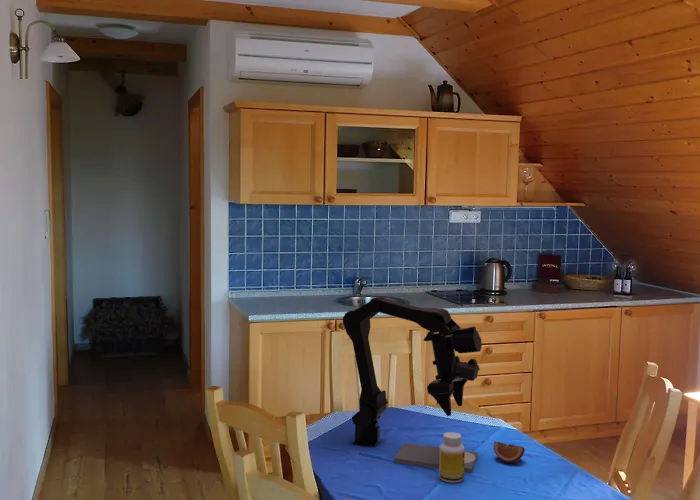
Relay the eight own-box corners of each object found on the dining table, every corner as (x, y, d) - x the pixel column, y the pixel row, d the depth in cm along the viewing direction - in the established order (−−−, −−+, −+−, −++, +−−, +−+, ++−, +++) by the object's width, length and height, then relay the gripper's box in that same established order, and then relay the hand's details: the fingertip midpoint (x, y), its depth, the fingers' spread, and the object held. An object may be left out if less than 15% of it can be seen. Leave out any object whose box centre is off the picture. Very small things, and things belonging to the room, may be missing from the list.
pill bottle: (463, 484, 183) (464, 440, 182) (437, 482, 185) (438, 438, 183) (464, 474, 190) (465, 431, 188) (439, 472, 191) (440, 429, 190)
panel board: (394, 462, 197) (394, 457, 197) (404, 446, 208) (404, 442, 208) (471, 473, 190) (471, 468, 190) (477, 456, 202) (477, 452, 202)
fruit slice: (489, 461, 199) (490, 443, 198) (498, 453, 204) (499, 436, 204) (518, 468, 194) (519, 450, 194) (527, 460, 200) (528, 442, 199)
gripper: (461, 360, 186) (472, 419, 186) (482, 345, 203) (492, 399, 203) (421, 363, 191) (432, 421, 191) (445, 348, 208) (455, 402, 208)
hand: (454, 410), depth 198 cm, fingers open, 9 cm apart
